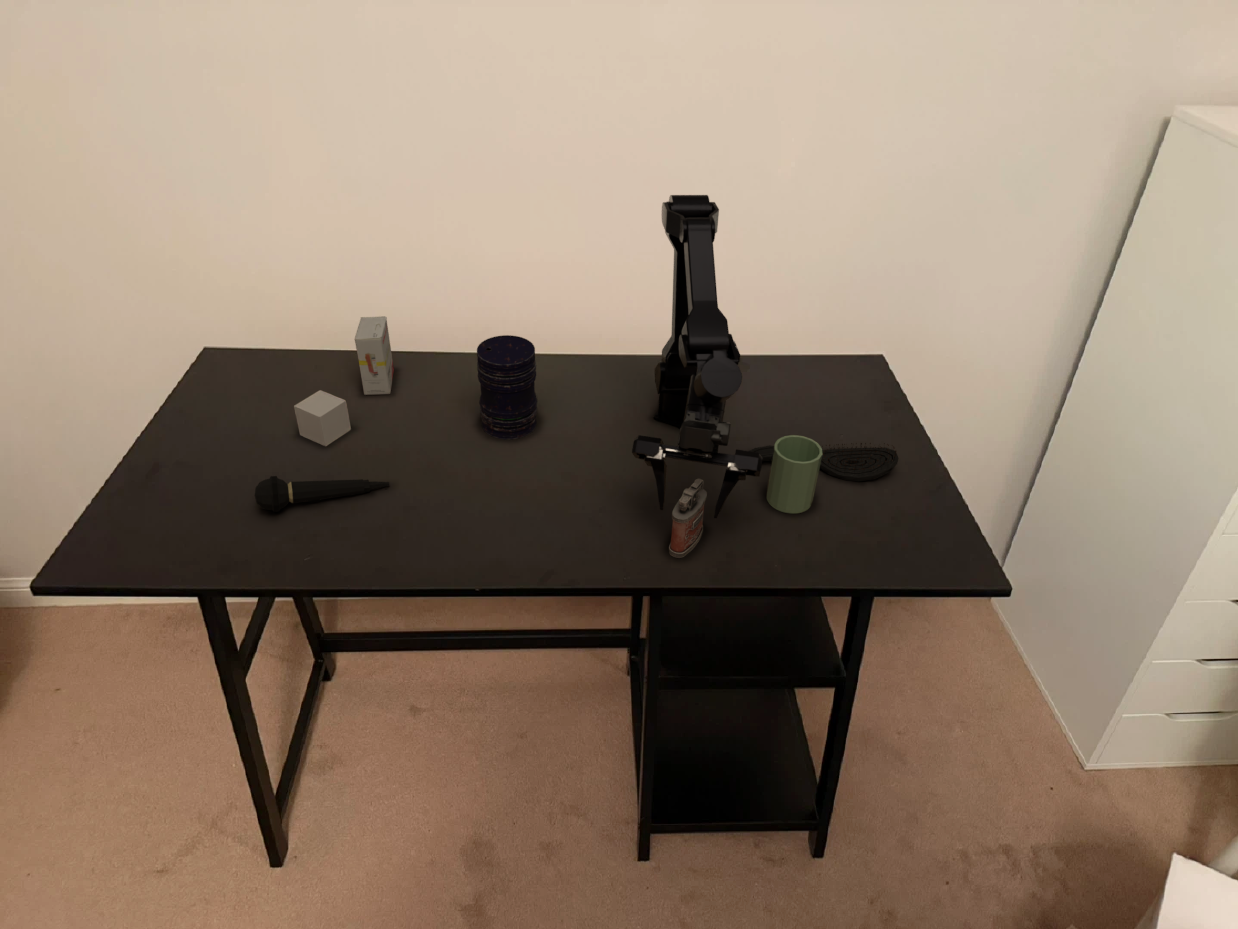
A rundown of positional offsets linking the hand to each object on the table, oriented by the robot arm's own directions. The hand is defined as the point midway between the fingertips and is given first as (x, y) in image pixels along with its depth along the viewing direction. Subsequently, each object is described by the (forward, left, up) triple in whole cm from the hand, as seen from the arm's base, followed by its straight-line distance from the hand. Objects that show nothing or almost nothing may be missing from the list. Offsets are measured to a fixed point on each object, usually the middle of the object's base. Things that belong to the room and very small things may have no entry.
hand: (688, 514), depth 135 cm
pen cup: (+9, +19, -7) cm, 22 cm away
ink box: (-69, +11, -7) cm, 70 cm away
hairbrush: (+10, +31, -7) cm, 33 cm away
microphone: (-53, -20, -7) cm, 57 cm away
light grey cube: (-66, -6, -7) cm, 67 cm away
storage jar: (-41, +13, -7) cm, 43 cm away
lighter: (-1, +1, -7) cm, 7 cm away
